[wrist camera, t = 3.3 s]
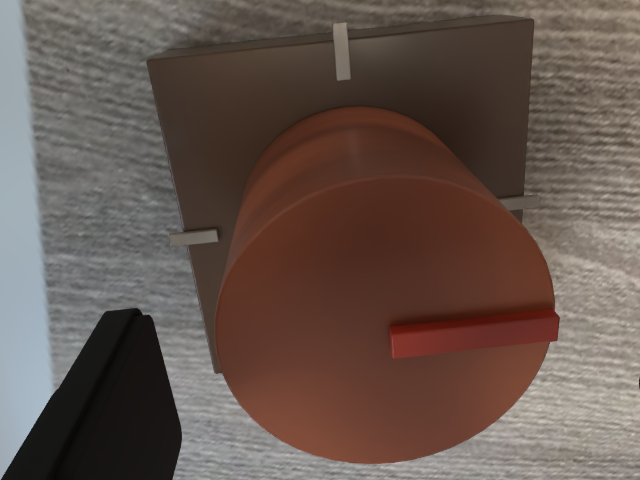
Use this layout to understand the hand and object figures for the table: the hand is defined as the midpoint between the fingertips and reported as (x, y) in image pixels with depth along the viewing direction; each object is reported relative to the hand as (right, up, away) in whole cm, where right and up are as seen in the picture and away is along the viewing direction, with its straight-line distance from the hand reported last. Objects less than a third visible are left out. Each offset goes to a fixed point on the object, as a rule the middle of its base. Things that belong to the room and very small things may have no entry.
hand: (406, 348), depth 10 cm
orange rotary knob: (-1, +3, +6) cm, 6 cm away
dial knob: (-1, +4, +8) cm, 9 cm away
